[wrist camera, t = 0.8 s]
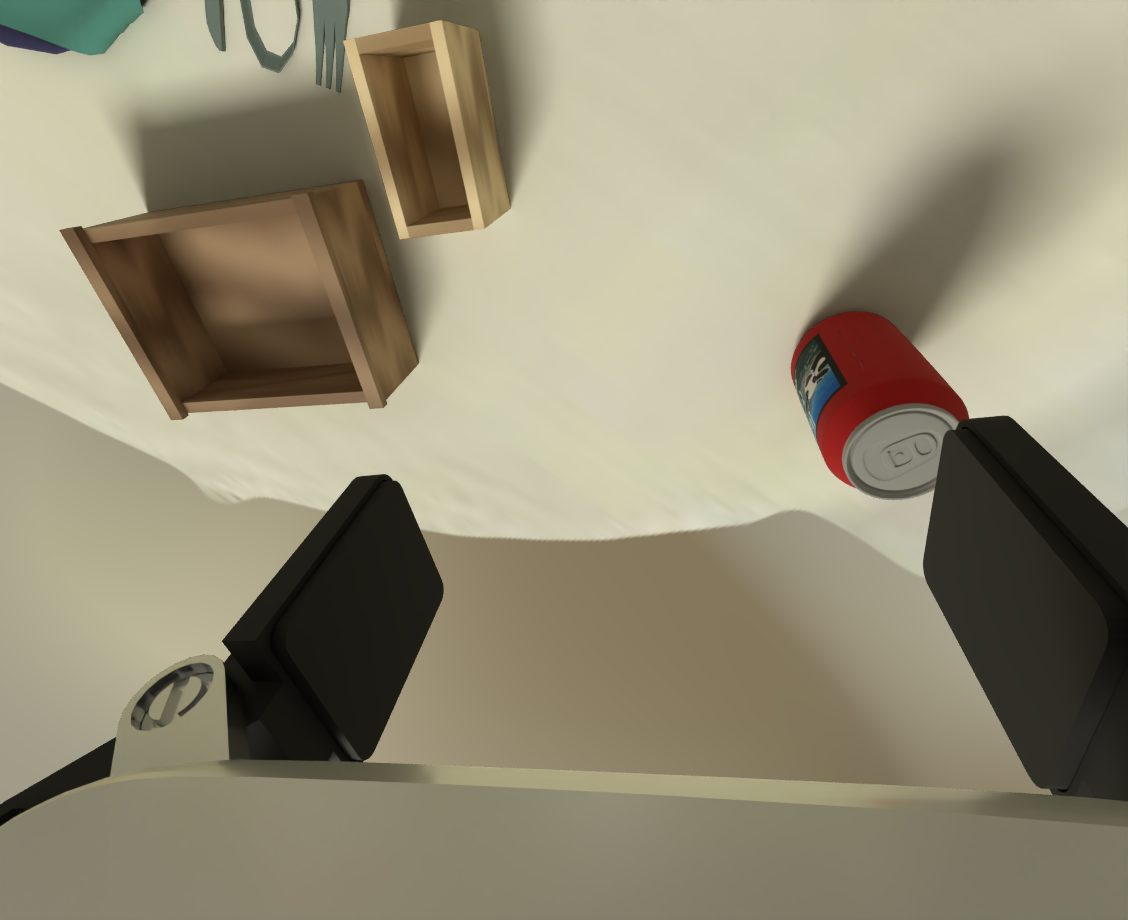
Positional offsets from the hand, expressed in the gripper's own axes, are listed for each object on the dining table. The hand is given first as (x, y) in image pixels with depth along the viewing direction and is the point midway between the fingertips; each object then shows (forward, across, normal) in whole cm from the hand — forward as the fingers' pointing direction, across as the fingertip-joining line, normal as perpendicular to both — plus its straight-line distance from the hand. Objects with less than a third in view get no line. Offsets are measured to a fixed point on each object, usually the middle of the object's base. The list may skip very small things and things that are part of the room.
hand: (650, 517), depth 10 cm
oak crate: (+29, +11, -7) cm, 32 cm away
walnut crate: (+29, +27, 0) cm, 40 cm away
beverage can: (+29, -10, +10) cm, 33 cm away
